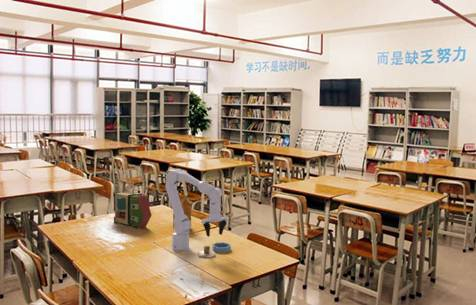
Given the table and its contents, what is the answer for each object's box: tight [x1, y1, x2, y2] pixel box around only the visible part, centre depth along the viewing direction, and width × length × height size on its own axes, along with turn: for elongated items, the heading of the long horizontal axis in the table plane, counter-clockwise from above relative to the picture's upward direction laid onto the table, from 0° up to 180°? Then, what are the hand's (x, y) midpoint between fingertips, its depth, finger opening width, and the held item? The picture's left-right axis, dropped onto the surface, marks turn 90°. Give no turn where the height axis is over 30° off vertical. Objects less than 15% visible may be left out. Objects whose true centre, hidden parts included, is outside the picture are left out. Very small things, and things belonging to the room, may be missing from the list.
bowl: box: [211, 242, 232, 254], centre depth 240 cm, size 10×10×3 cm
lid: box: [197, 245, 216, 259], centre depth 231 cm, size 9×9×4 cm
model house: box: [113, 191, 153, 230], centre depth 283 cm, size 21×9×30 cm
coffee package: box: [172, 192, 192, 227], centre depth 283 cm, size 10×12×22 cm
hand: (214, 235), depth 234 cm, fingers open, 7 cm apart
